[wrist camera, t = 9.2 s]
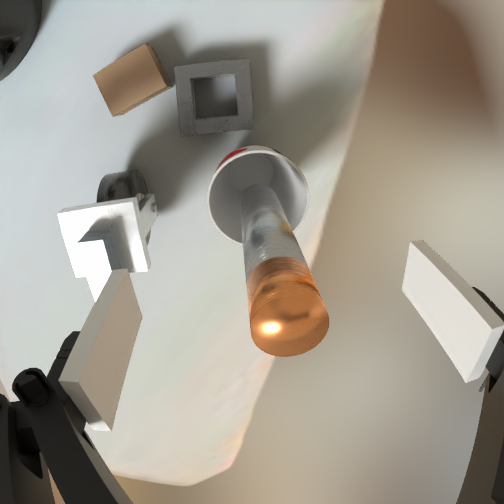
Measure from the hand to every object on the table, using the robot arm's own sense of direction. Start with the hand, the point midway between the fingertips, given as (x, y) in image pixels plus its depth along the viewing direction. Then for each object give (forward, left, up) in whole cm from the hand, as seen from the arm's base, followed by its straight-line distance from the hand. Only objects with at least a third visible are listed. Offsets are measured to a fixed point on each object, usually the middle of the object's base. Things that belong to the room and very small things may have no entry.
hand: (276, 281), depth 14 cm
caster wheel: (+2, -13, -22) cm, 26 cm away
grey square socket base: (-8, -3, -22) cm, 24 cm away
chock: (-11, -11, -22) cm, 27 cm away
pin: (0, 0, -12) cm, 12 cm away
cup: (0, 0, -22) cm, 22 cm away
